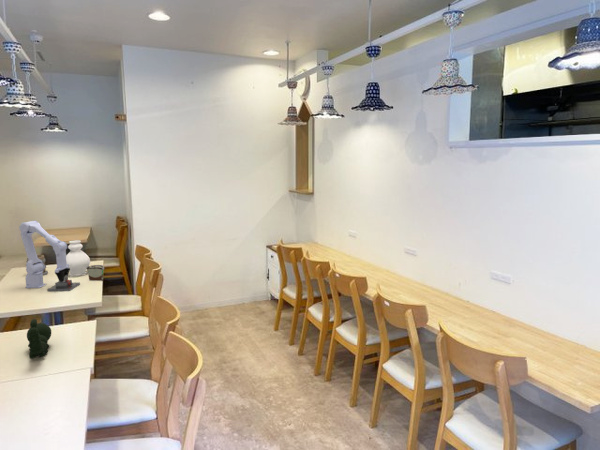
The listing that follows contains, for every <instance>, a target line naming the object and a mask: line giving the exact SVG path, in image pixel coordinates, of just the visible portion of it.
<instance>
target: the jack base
mask: <svg viewBox="0 0 600 450" xmlns="http://www.w3.org/2000/svg"><path fill="white" fill-rule="evenodd" d="M80 285H81V283H80V282H73V281H72V279H68V280H67V281H66V282H59V280H58V281H56V282H55V283H54V285H53V286H50V287H48V288H47V289H46V290H47V292H71V291H72V290H73V289H76V288H77V287H79V286H80Z"/></svg>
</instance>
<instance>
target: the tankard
mask: <svg viewBox="0 0 600 450" xmlns="http://www.w3.org/2000/svg"><path fill="white" fill-rule="evenodd" d="M26 257H27V256H26ZM37 257H38V259H40V260H42V263H43V264H44V266H45V269H44V270H43V272H42V274H43V277H45V276H47V275H48V273H49V272H48V270H47V264H46V261H47V260H46V257H45V255H44V254H37ZM27 262H28V257H27V258H26V263H27ZM34 264H36V263H34ZM26 273H27V272H26ZM27 274H28V273H27ZM27 274H26V275H27Z"/></svg>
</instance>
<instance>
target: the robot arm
mask: <svg viewBox="0 0 600 450" xmlns="http://www.w3.org/2000/svg"><path fill="white" fill-rule="evenodd" d="M18 228H19V231H20V236H21V241H22V243H23V246H24V251H25V253H26V257H28V262H26V264H25V266H26V267H25V268H26V269H25V271H26V273H28V274H26V275H25V289H38V288H43V287H45V286H46V285H47V283H44V276H43V274H42V272H43V270H44V269H45V266H44V264H43V263H42V260H40V259H38V257H37V255H38V254H37V251H36V247H35V245H34V241H33V238H32V235H33V234H34V233H37V234H38V235H39V236H41V237H43V238H44V239H45V242H46V243H47V244H49V246H50V247H52V250H53V251H54V254H55V259H56V260H55V261H56V268H55V269H54V274H55V275H56V277H57V279H58V281H60V282H63V280H64V275H68V274H69V273H70V272H69V270H70V268H69V264H67V260H66V255H67V251H66V250H67V249H68V244H67V242H66V241H62V240H60V239H58V237H56V235H55V234H49V232H47V231H46V230H45V229H44V228H43V227H42V226H41V223H40V222H38V221H37V220H30V221H26V222H24V221H23V222H21V224H20V225H19V227H18ZM34 263H36V264H34ZM45 270H46V269H45Z"/></svg>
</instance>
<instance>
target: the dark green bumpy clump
mask: <svg viewBox="0 0 600 450" xmlns="http://www.w3.org/2000/svg"><path fill="white" fill-rule="evenodd" d="M51 336H52V328H51V327H50V326H49V325H48V324H46V323H42V322H39V323H38V320H37V319H36V318H32V319H31V320H30V322H29V328H28V330H27V332H26V339H27V341H28V345H27V346H28V348H29V349H28V350H29V356H28V358H29V360H30V359H31V360H32V359H34V358H36V356H37V357H38V356H39V357H40V358H41V357H42V358H44V357H45V355H47V354H48V352H49V351H48V349H49V348H50V344H49V343H48V342H49V340H50V338H51Z"/></svg>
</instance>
